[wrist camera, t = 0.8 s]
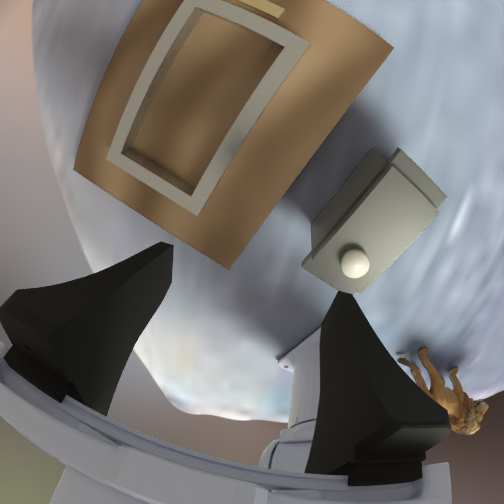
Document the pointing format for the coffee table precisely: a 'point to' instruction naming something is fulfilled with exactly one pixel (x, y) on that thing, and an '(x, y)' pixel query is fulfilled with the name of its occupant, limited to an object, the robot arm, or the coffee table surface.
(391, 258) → the servo block
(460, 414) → the lion figurine
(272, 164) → the pocket plate
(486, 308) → the coffee table surface
